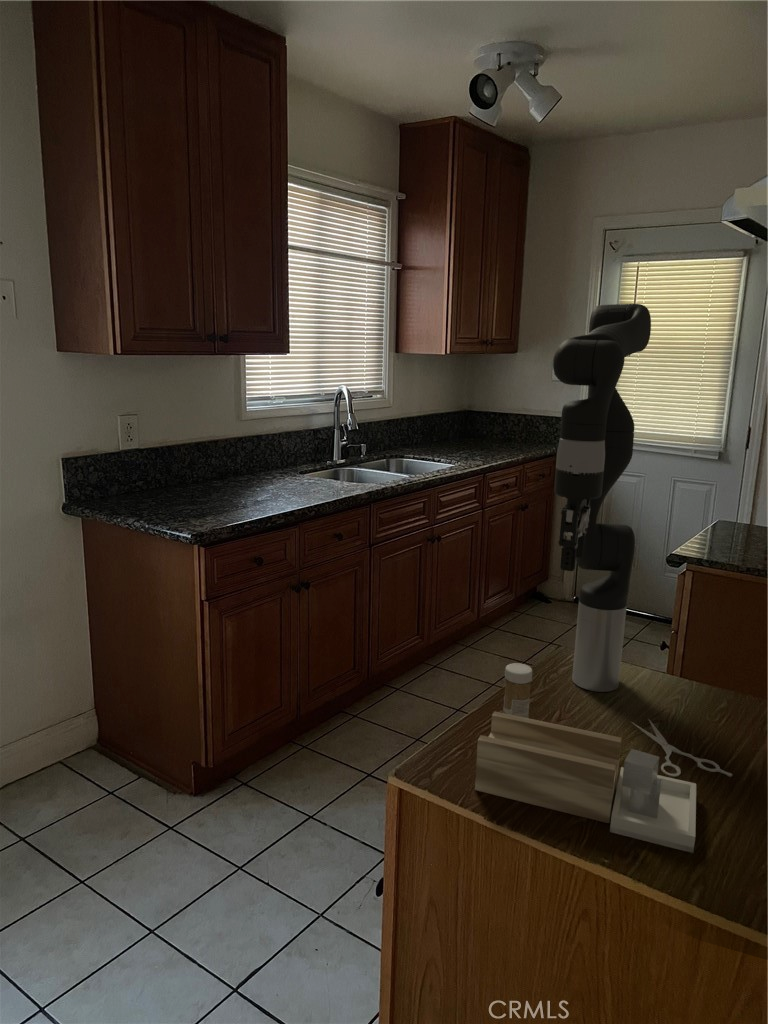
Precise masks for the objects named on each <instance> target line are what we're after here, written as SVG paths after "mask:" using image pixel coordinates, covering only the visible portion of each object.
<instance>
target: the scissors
mask: <svg viewBox="0 0 768 1024" xmlns="http://www.w3.org/2000/svg"><path fill="white" fill-rule="evenodd" d="M648 721H649V724H650V726H651V728H652V730H653V732H654V734H655V735H654V734H652V733H651V732H649V731H647V730H646V729H644V728H642V727H641V726H639V725H637V724H636V723H634V722H633V721H630V720H629V722H630V723H631V724H633V725H634V726H635V727H637V728H638V729H639V730H640V731H641V732H643V734H645V735H646V736H648V737H649V738H650V739H652V741H654V742H656V743H657V744H659V745H660V746H661V747H662V750H664V752H665V755H666V756H665V757H664V759H665V762H664V763H662V764H661V766H660V770H661V772H662V773H663V774H665V775H667V776H668V777H671V778H673V777H675V778H676V777H679V776H680V775H681V773H682V772H681V768H680V766H678V765H676V764H674V763H672V761H671V760H670V756H671V755H672V752H673V753H675V754H678V755H682V756H685V757H688V758H690V759H692V760H693V761H695V762H696V763H697V767H698V768H700V769H702V770H705V771H708V772H711V773H715V772H718V773H721V774H723V775H726V776H728V777H733V773H731V772H729V771H726V770H723V769H721V768H720V765H719V764H717V763H716V762H715V761H713V760H710V759H706V758H699V757H697V756H696V757H695V756H693V755H692V754H690V753H687V752H683V751H681V750H680V749H678V748H677V747H675V746H673V745H671V744H669V743H668V742H667V740H666V739H665V737H664V736H663V735H662V734H661V732H660V730H658V728H657V727H656V726H655V724H654V723H653V722H652V721H651V720H650V719H648ZM702 763H707V764H710V765H712V766H713V767H715V768H709V767H706V766H704V765H703V764H702ZM664 767H671V768H674V769H675V771H676V772H675V773H670V772H668V771H666V770H665V768H664Z"/></svg>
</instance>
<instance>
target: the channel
mask: <svg viewBox="0 0 768 1024" xmlns="http://www.w3.org/2000/svg"><path fill="white" fill-rule="evenodd" d="M621 747H622V737H619V736H615V735H611V734H605V733H600V732H595V731H591V730H587V729H581V728H576V727H572V726H567V725H562V724H557V723H553V722H552V723H551V722H548V721H543V720H538V719H534V718H529V717H528V718H524V717H519V716H515V715H510V714H505V713H503V712H500V711H493V713H492V714H491V727H490V733H489V735H488V736H487V735H482V734H480V735H479V737H478V739H477V747H476V748H477V749H476V762H475V763H476V764H475V767H476V768H475V780H474V781H475V783H474V790H475V791H478V792H482V793H487V794H489V795H494V796H498V797H502V798H506V799H510V800H514V801H517V802H522V803H525V804H530V805H533V806H538V807H542V808H546V809H548V810H549V809H550V810H554V811H558V812H563V813H566V814H570V815H573V816H578V817H581V818H586V819H591V820H594V821H597V822H598V821H599V822H601V823H607V824H610V823H611V816H612V811H613V806H614V801H615V796H616V791H617V786H618V778H619V776H618V775H619V768H620V767H619V766H620V765H619V764H620V756H621Z"/></svg>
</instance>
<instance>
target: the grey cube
mask: <svg viewBox="0 0 768 1024" xmlns="http://www.w3.org/2000/svg"><path fill="white" fill-rule="evenodd" d="M659 764H660V756H658V755H654V754H651V753H648V752H645V751H644V752H643V751H641V750H639V749H638V750H637V749H634V748H631V749H630V750H629V752H628V754H627V755H626V758H625V759H624V763H623V767H624V770H623V779H622V786H625V787H628V788H631V789H634V790H637V791H641V792H644V793H647V794H651V792H652V790H653V788H654V786H655V784H656V782H657V775H659V773H658V772H659Z"/></svg>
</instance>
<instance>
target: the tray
mask: <svg viewBox="0 0 768 1024" xmlns="http://www.w3.org/2000/svg"><path fill="white" fill-rule="evenodd" d="M623 770H624V766H621V767H620V772H619V776H618V780H617V787H616V792H615V797H614V802H613V807H612V812H611V817H610V825H609V833H613V834H617V835H620V836H624V837H629V838H632V839H636V840H641V841H644V842H648V843H652V844H656V845H660V846H664V847H668V848H671V849H676V850H679V851H683V852H687V853H690V854H691V853H692V854H694V849H695V842H696V824H697V821H696V819H697V816H696V815H697V783H695V782H691V781H687V780H681V779H678V778H673V777H670V776H664V775H659V774H657V779H662V782H661V790H660V799H659V807H658V815H657V818H653V817H649V816H645V815H641V814H637V813H633V812H629V811H628V809H629V800H630V790H631V788H628V787H625V786H622V779H623Z"/></svg>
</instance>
